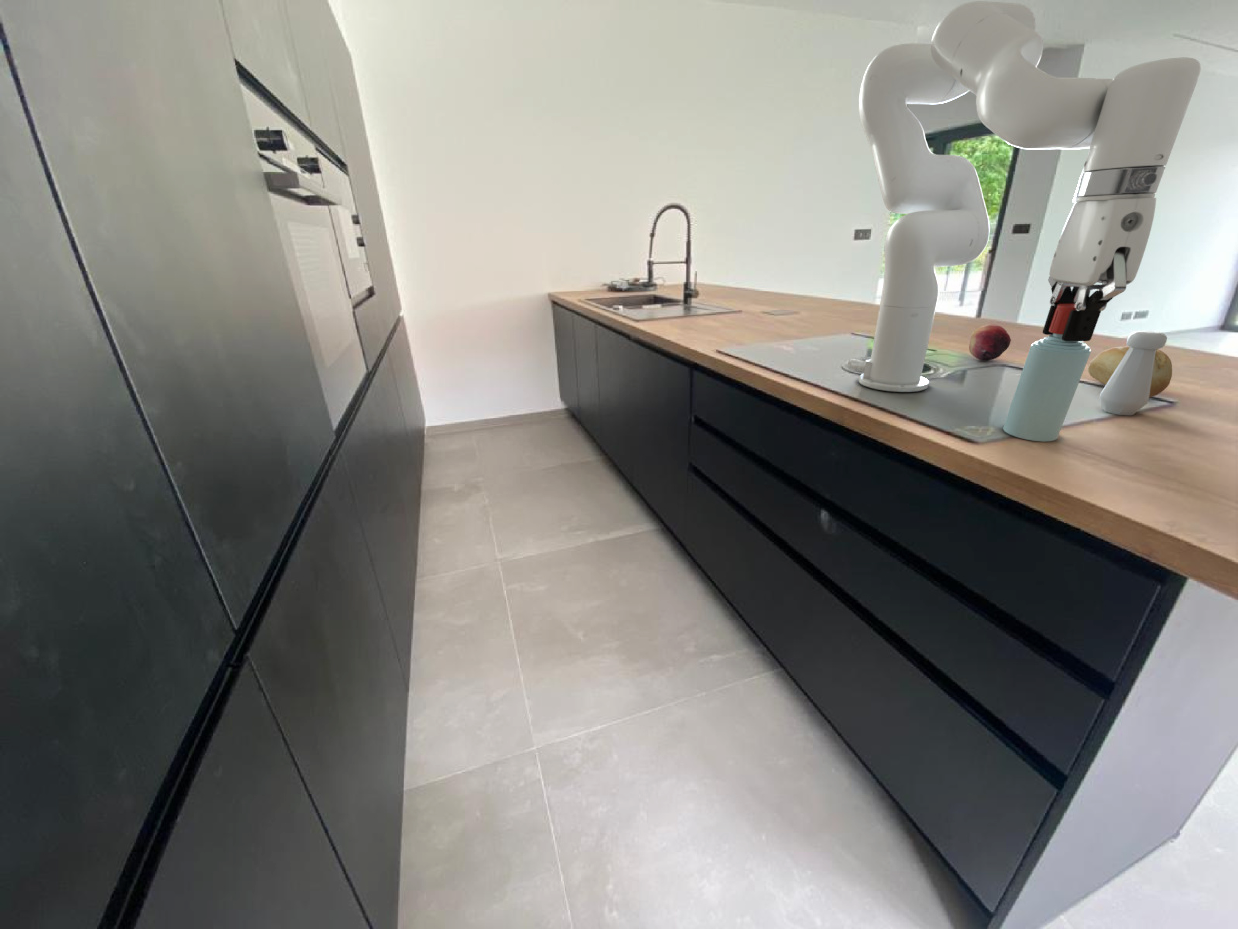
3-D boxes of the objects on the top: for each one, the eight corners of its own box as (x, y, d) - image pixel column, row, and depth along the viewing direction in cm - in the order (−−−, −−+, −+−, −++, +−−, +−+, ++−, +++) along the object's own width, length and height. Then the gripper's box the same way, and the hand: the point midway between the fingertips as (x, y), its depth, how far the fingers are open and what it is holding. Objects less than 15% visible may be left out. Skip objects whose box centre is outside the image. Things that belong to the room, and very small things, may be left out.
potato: (1126, 379, 99) (1142, 339, 96) (1182, 402, 86) (1203, 356, 83) (1069, 378, 101) (1083, 338, 98) (1115, 400, 88) (1133, 355, 85)
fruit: (985, 355, 121) (994, 321, 118) (1013, 362, 114) (1023, 326, 111) (956, 357, 120) (965, 323, 116) (983, 365, 113) (993, 329, 110)
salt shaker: (1151, 417, 80) (1187, 335, 75) (1109, 416, 81) (1142, 335, 76) (1126, 406, 85) (1157, 328, 80) (1087, 405, 86) (1115, 328, 81)
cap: (1067, 329, 71) (1076, 303, 69) (1091, 334, 68) (1102, 307, 66) (1041, 330, 71) (1050, 304, 69) (1064, 335, 67) (1074, 308, 66)
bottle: (1007, 437, 75) (1050, 313, 67) (999, 422, 80) (1037, 306, 72) (1063, 444, 72) (1114, 316, 64) (1050, 428, 77) (1096, 307, 69)
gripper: (1211, 179, 54) (1141, 350, 61) (1104, 190, 68) (1059, 326, 76) (1130, 183, 55) (1071, 350, 63) (1043, 192, 70) (1004, 326, 78)
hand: (1065, 335), depth 69 cm, fingers closed on cap, 3 cm apart
